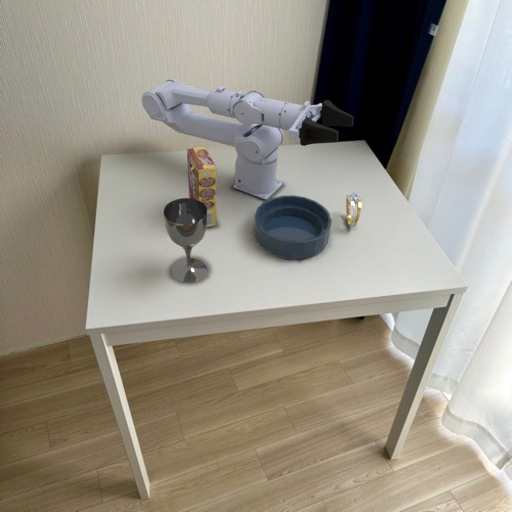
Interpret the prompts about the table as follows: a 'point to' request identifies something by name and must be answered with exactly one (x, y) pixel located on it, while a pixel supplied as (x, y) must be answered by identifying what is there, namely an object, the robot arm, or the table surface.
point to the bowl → (292, 226)
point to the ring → (352, 201)
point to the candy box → (202, 180)
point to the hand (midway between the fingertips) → (345, 129)
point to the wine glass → (186, 235)
